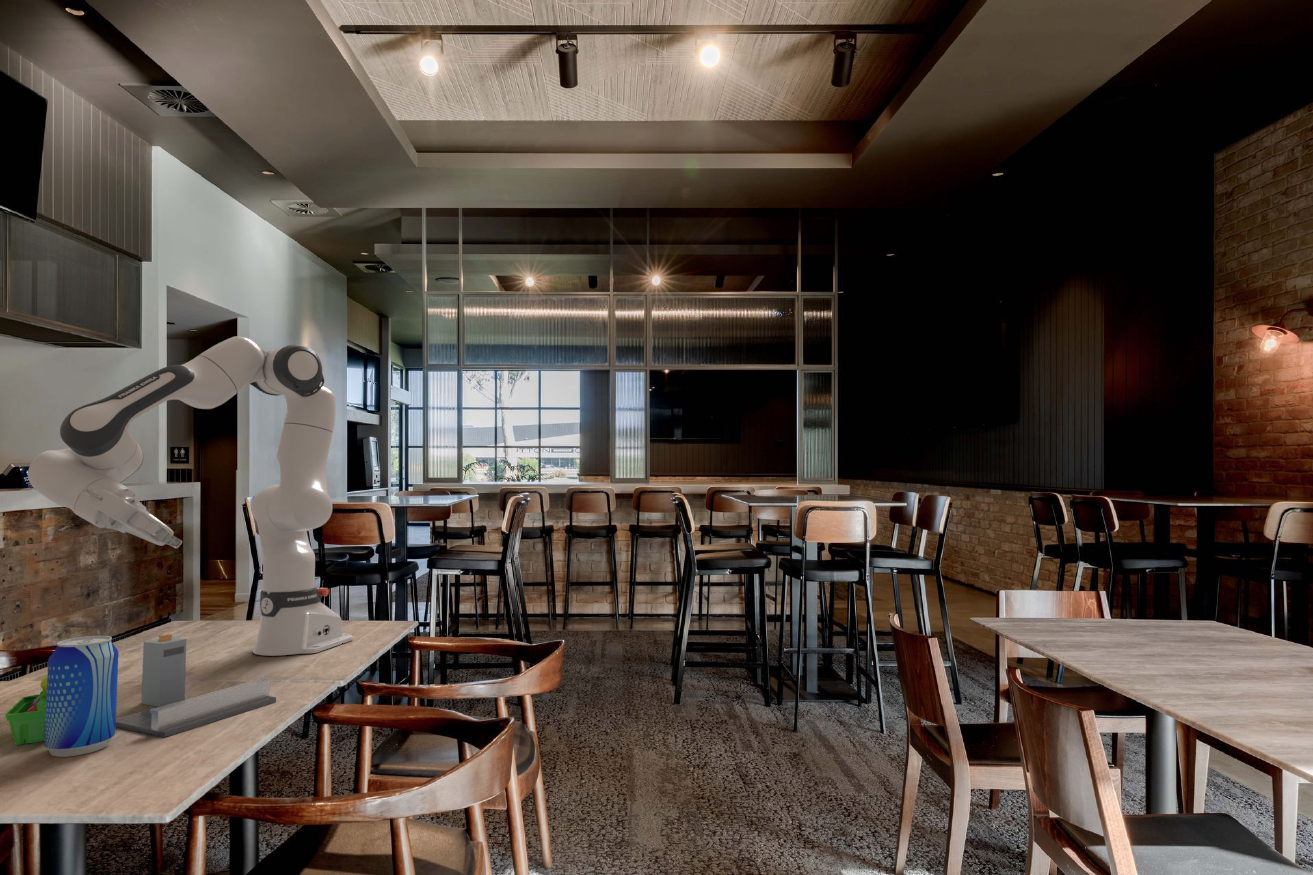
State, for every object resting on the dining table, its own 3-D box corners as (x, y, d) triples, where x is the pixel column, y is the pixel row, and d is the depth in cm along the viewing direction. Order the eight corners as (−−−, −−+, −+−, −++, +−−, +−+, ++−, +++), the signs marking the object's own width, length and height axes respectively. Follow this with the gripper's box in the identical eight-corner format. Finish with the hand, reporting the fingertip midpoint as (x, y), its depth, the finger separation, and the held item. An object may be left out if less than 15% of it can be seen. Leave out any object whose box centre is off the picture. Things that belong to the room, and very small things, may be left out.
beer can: (128, 741, 113) (132, 636, 114) (69, 761, 105) (74, 648, 106) (90, 735, 116) (94, 632, 117) (29, 754, 108) (35, 644, 109)
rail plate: (223, 692, 139) (223, 672, 139) (276, 701, 133) (276, 680, 133) (108, 725, 120) (109, 701, 121) (164, 737, 115) (165, 712, 115)
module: (166, 696, 136) (168, 631, 137) (184, 699, 134) (186, 633, 135) (141, 703, 132) (143, 635, 133) (159, 706, 130) (162, 638, 131)
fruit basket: (21, 727, 120) (24, 657, 120) (89, 718, 124) (92, 650, 125) (1, 750, 110) (5, 673, 110) (76, 739, 114) (79, 665, 115)
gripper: (92, 472, 136) (155, 508, 136) (144, 506, 155) (200, 538, 154) (66, 500, 134) (130, 537, 133) (121, 532, 152) (178, 564, 151)
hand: (168, 538), depth 144 cm, fingers open, 8 cm apart
